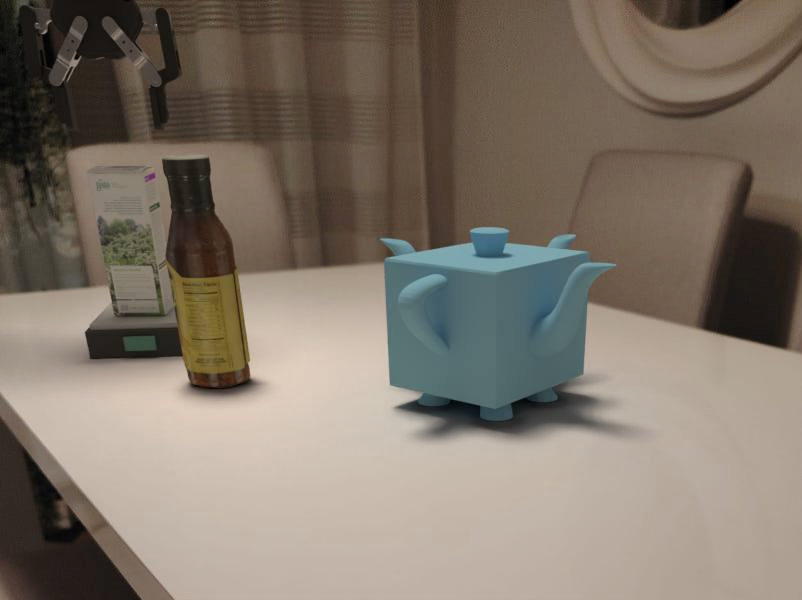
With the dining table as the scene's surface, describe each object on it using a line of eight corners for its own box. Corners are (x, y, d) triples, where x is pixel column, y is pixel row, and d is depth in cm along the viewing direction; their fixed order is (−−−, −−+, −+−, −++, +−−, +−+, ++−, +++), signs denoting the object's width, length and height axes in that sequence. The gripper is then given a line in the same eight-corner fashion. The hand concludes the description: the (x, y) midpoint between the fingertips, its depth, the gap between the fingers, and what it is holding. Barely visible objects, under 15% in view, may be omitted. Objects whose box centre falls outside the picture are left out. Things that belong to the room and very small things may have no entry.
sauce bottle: (209, 371, 96) (178, 152, 85) (264, 376, 94) (238, 153, 84) (172, 388, 90) (134, 156, 80) (230, 393, 89) (198, 158, 78)
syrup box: (177, 306, 107) (155, 164, 100) (166, 316, 102) (142, 168, 95) (126, 306, 107) (101, 164, 100) (112, 317, 102) (84, 168, 94)
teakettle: (396, 435, 78) (388, 245, 71) (384, 375, 94) (376, 216, 87) (616, 425, 81) (631, 241, 73) (567, 369, 96) (575, 213, 89)
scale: (88, 360, 100) (82, 327, 98) (112, 331, 111) (107, 301, 109) (195, 356, 101) (190, 323, 99) (207, 328, 112) (203, 299, 111)
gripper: (167, -61, 91) (192, 129, 100) (13, -65, 90) (51, 128, 98) (156, -72, 85) (183, 131, 93) (-10, -77, 83) (33, 131, 91)
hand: (116, 129), depth 95 cm, fingers open, 8 cm apart
